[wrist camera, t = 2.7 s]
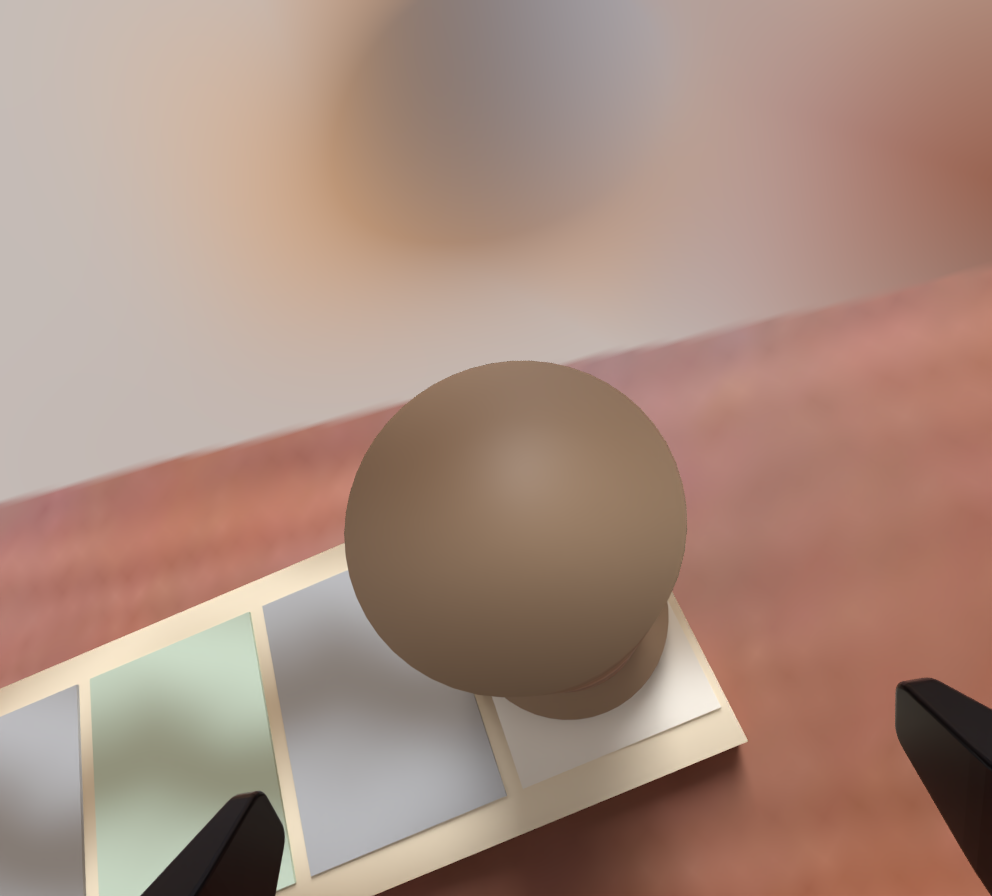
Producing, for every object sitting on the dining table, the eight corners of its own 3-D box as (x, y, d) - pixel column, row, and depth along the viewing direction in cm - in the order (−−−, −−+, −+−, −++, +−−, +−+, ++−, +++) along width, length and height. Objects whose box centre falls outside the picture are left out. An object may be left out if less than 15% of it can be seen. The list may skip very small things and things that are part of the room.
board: (738, 737, 17) (748, 741, 15) (-67, 1069, 17) (-117, 1097, 16) (594, 450, 21) (593, 436, 20) (-47, 721, 21) (-85, 723, 20)
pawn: (703, 670, 16) (853, 643, 6) (510, 751, 16) (355, 848, 6) (612, 489, 19) (615, 263, 9) (445, 559, 19) (263, 415, 9)
